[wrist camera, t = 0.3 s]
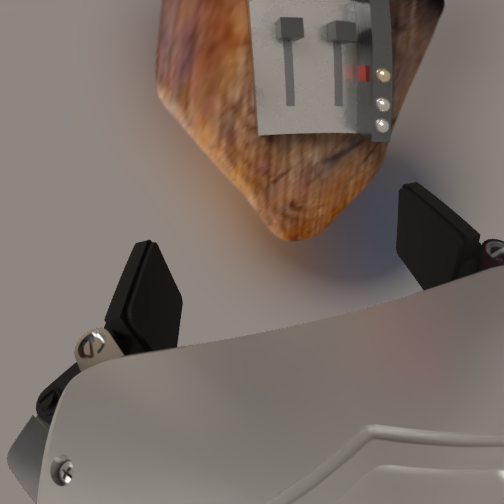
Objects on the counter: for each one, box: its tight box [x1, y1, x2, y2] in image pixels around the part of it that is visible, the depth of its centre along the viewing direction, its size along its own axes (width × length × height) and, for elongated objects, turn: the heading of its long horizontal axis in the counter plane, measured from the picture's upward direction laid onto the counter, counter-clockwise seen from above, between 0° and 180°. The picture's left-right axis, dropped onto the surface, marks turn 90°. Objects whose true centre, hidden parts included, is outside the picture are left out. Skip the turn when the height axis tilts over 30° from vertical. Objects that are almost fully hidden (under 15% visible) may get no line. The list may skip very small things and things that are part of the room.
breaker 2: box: [327, 20, 357, 43], centre depth 25 cm, size 2×2×3 cm
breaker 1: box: [276, 17, 304, 40], centre depth 25 cm, size 2×2×3 cm
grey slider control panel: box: [247, 0, 393, 142], centre depth 28 cm, size 18×15×8 cm
